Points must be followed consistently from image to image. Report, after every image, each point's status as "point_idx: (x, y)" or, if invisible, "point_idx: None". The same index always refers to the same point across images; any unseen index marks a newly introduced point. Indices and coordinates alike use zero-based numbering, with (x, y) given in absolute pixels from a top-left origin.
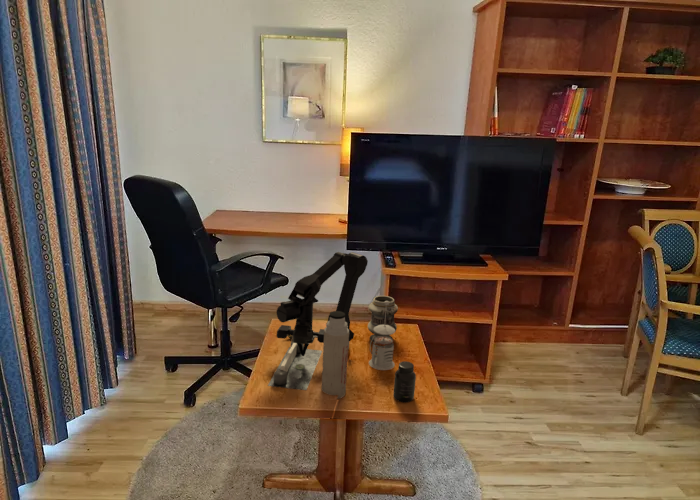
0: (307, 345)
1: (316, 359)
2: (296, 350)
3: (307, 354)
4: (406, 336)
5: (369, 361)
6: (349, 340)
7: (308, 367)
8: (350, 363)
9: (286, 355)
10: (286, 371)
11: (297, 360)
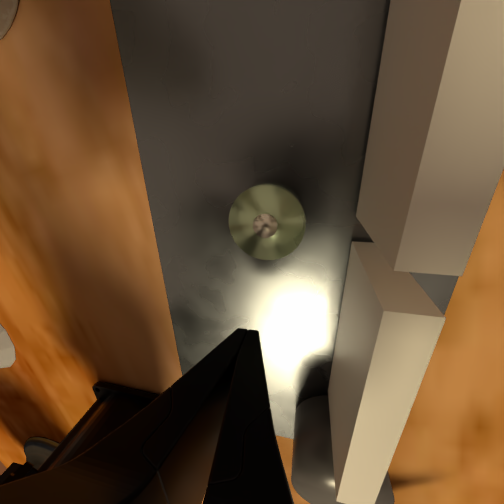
0: (107, 444)
1: (187, 335)
2: (330, 418)
3: None
4: (17, 463)
5: (6, 341)
6: (7, 468)
7: (201, 230)
8: (59, 325)
9: None
10: (392, 22)
11: (306, 317)
